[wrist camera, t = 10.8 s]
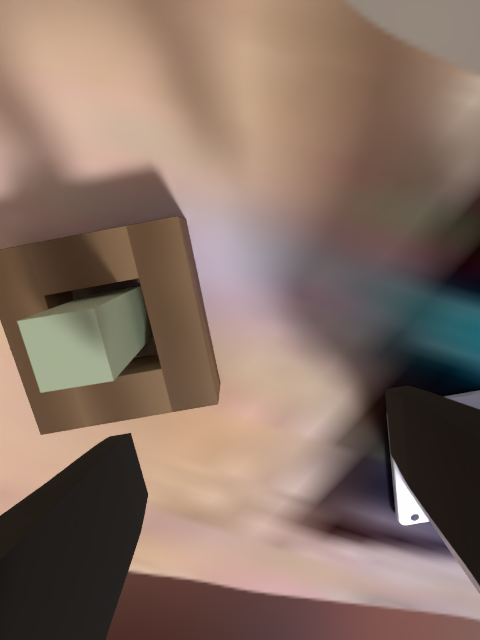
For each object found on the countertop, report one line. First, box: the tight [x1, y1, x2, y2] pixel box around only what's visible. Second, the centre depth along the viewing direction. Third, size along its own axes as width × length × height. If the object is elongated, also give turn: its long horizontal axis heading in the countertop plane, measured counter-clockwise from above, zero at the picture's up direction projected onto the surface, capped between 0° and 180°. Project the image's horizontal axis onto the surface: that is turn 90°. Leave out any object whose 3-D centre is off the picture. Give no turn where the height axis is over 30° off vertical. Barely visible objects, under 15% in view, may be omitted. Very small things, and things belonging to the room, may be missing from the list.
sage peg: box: [17, 286, 152, 393], centre depth 15 cm, size 3×3×6 cm
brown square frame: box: [0, 216, 220, 435], centre depth 17 cm, size 9×9×2 cm
